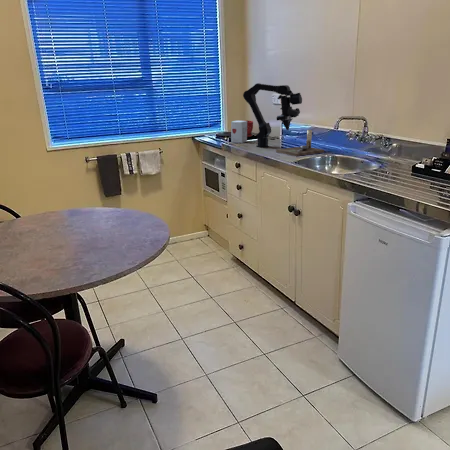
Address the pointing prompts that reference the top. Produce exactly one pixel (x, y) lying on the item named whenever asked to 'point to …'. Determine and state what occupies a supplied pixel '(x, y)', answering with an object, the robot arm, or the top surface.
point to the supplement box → (239, 131)
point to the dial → (308, 143)
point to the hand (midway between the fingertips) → (287, 130)
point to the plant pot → (249, 128)
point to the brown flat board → (303, 152)
